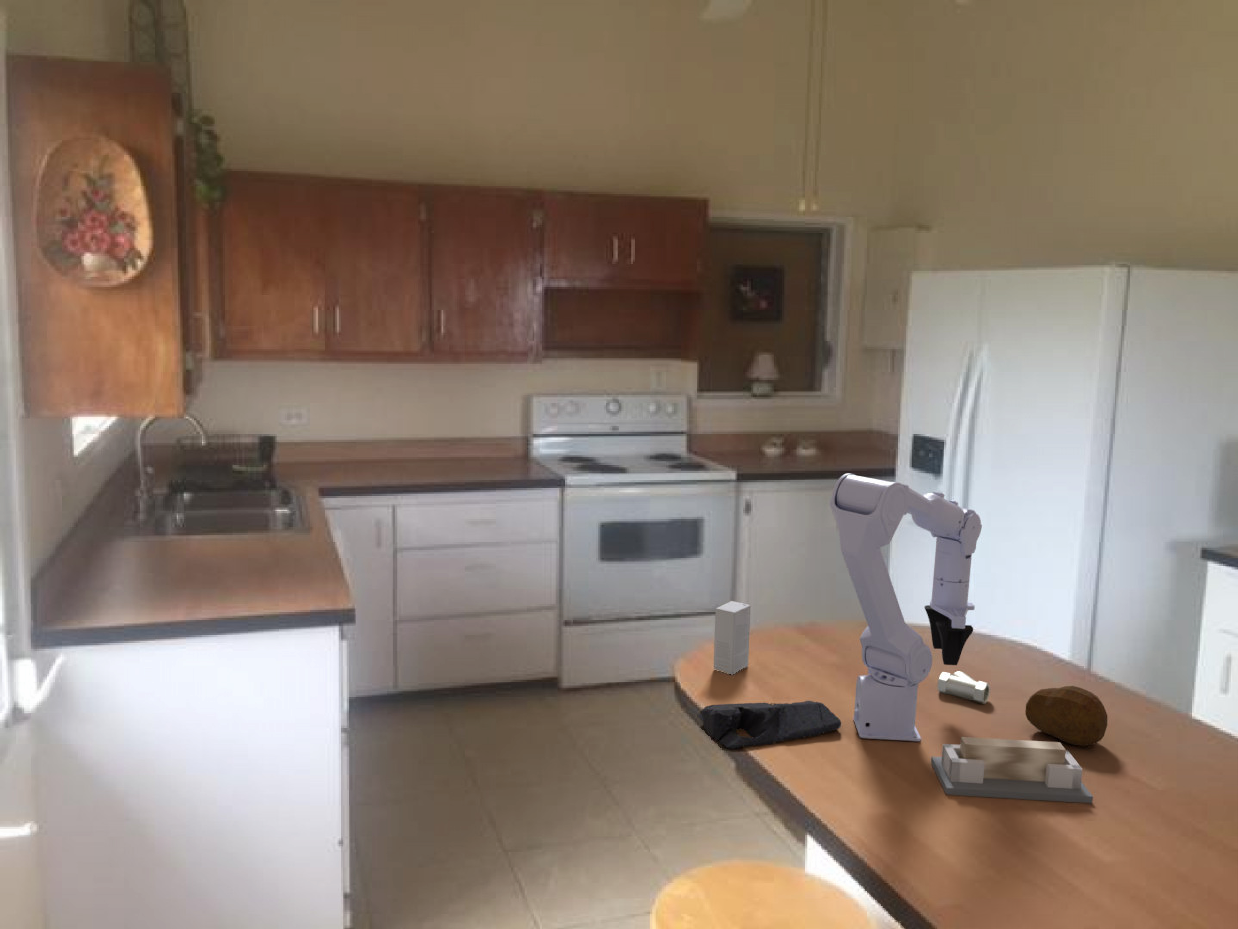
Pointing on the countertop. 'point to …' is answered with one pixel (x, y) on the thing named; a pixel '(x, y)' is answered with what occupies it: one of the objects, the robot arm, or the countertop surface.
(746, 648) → the skincare box
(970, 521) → the robot arm
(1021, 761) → the slat
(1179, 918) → the countertop surface
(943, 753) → the board
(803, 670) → the countertop surface
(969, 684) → the pipe fitting
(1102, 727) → the potato
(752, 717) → the black folded cloth
